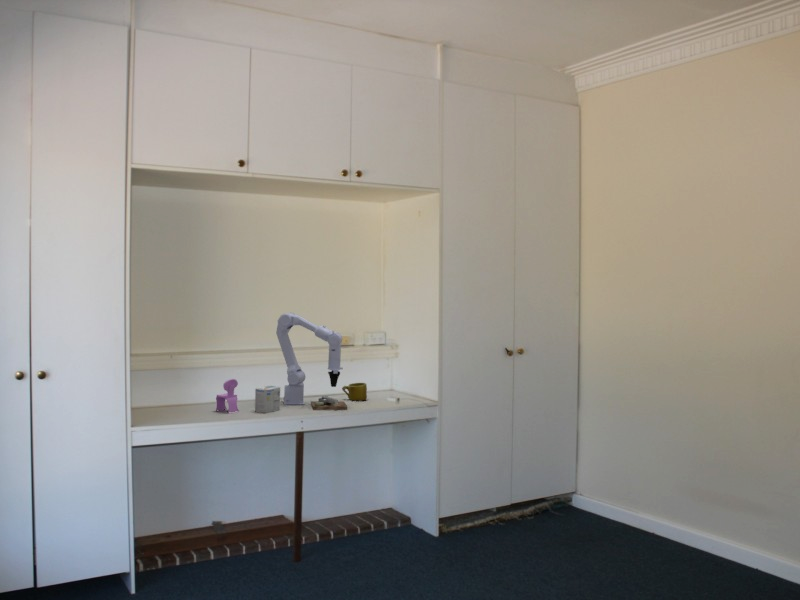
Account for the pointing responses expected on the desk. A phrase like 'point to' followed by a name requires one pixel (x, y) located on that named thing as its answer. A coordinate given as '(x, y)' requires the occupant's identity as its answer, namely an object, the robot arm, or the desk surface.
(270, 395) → the light bulb box
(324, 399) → the grey lever handle
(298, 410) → the desk surface
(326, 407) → the base
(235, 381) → the toy chair
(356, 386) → the mug
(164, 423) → the desk surface
